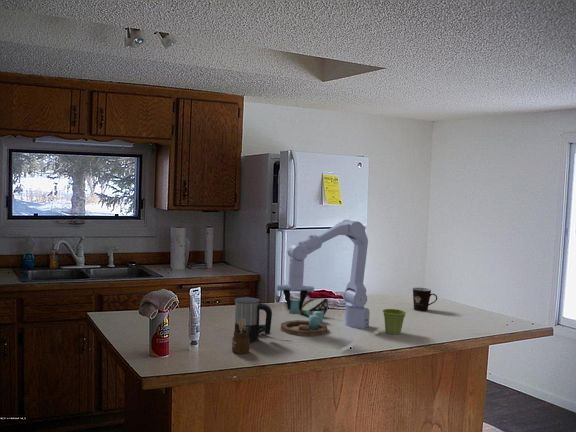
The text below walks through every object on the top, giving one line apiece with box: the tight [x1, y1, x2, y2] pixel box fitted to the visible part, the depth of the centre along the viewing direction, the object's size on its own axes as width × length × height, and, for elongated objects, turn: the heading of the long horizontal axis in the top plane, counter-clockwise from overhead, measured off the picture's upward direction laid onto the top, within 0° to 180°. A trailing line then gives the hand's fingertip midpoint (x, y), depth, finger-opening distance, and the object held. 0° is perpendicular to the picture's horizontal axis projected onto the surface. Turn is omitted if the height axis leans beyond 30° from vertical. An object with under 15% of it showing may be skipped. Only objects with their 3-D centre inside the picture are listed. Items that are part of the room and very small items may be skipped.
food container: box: [299, 297, 329, 317], centre depth 266 cm, size 12×6×10 cm
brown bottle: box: [231, 319, 251, 355], centre depth 208 cm, size 6×6×12 cm
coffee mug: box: [412, 286, 438, 312], centre depth 290 cm, size 12×9×10 cm
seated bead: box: [308, 315, 319, 330], centre depth 240 cm, size 4×4×5 cm
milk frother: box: [234, 297, 273, 343], centre depth 227 cm, size 14×16×15 cm
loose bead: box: [313, 311, 324, 324], centre depth 253 cm, size 4×4×5 cm
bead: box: [288, 299, 300, 315], centre depth 239 cm, size 4×4×5 cm
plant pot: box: [382, 308, 407, 335], centre depth 244 cm, size 9×9×9 cm
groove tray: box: [280, 319, 328, 337], centre depth 238 cm, size 18×18×2 cm
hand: (294, 309), depth 239 cm, fingers closed on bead, 4 cm apart
